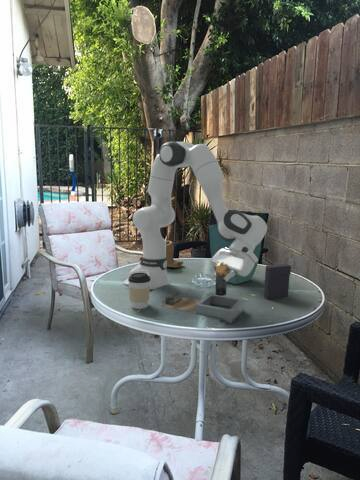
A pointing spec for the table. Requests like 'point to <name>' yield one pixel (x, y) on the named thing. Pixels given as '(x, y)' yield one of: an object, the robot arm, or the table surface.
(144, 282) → the coffee cup
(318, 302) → the table surface
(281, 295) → the grey box
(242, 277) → the flower pot
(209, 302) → the bin
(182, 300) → the plate
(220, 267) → the battery cell
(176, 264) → the wooden bookend
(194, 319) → the table surface
